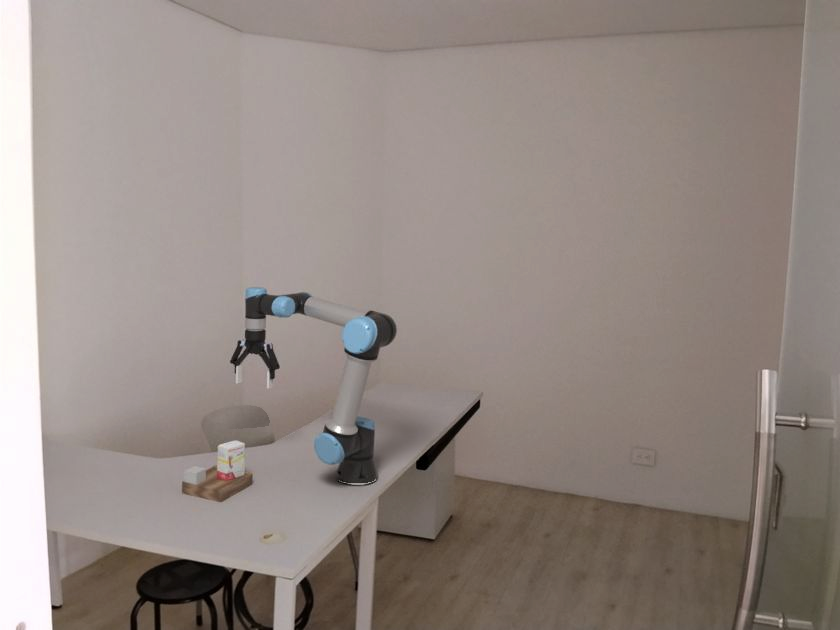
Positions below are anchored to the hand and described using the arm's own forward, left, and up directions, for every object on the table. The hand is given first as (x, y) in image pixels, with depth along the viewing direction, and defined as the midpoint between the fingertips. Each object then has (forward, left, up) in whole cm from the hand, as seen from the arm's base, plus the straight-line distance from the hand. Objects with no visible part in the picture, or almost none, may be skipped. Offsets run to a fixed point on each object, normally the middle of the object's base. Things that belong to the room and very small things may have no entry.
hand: (254, 385), depth 270 cm
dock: (-2, +24, -32) cm, 40 cm away
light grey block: (+3, +30, -28) cm, 41 cm away
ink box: (-5, +21, -28) cm, 35 cm away
